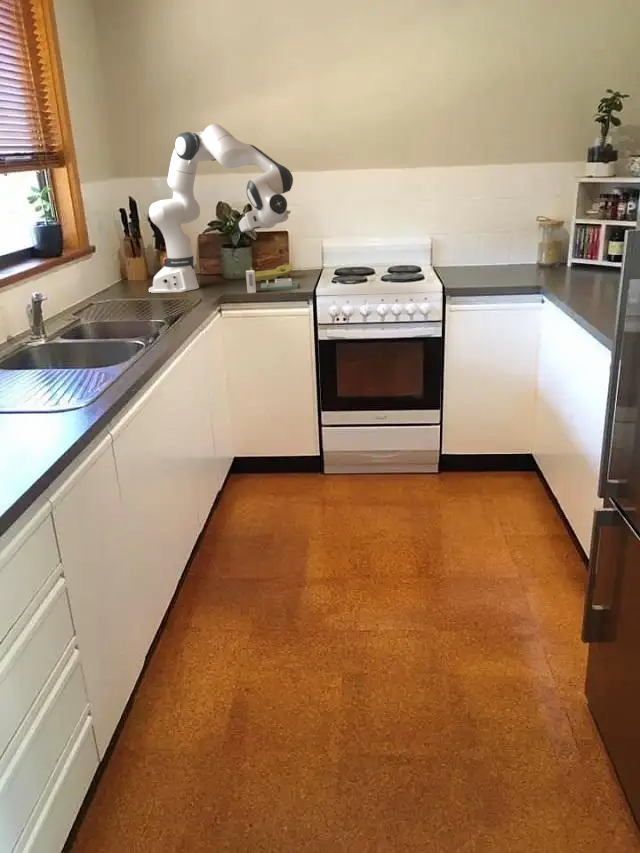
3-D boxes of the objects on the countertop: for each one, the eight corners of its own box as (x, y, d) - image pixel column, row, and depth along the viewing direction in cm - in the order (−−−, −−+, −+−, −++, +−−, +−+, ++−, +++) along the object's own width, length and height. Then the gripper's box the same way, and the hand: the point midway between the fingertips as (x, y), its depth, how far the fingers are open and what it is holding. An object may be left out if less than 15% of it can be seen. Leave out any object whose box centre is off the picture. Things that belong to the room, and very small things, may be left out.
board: (261, 290, 317) (260, 283, 316) (260, 286, 328) (260, 278, 327) (297, 288, 318) (297, 281, 317) (296, 284, 329) (296, 276, 328)
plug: (247, 293, 313) (245, 272, 310) (247, 291, 317) (246, 270, 314) (255, 292, 313) (254, 271, 310) (255, 291, 317) (254, 270, 314)
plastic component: (250, 277, 339) (250, 264, 346) (253, 290, 345) (252, 277, 352) (293, 271, 339) (291, 259, 346) (294, 284, 345) (293, 272, 352)
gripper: (289, 202, 292) (280, 212, 305) (241, 213, 285) (234, 224, 298) (294, 217, 292) (284, 227, 305) (246, 229, 286) (239, 239, 299)
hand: (259, 225), depth 302 cm, fingers open, 8 cm apart
